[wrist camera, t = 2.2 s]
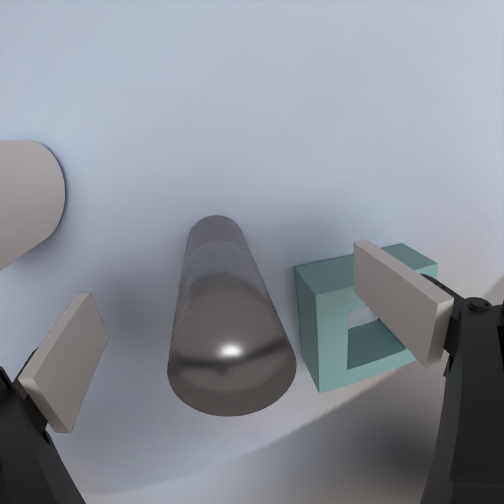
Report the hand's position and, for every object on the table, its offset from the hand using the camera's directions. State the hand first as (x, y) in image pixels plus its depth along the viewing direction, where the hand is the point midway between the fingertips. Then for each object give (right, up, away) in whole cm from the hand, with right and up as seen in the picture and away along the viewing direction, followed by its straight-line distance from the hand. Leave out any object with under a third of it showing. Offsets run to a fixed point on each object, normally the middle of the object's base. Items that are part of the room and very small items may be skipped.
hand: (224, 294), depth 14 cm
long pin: (-1, +3, +8) cm, 8 cm away
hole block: (+10, -2, +11) cm, 15 cm away
